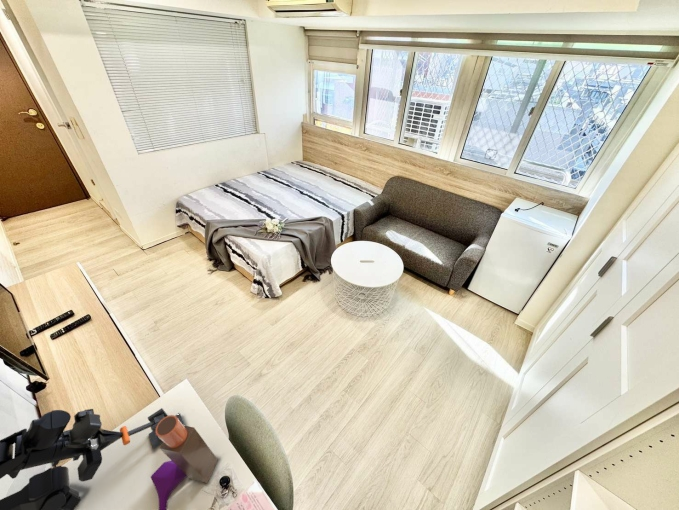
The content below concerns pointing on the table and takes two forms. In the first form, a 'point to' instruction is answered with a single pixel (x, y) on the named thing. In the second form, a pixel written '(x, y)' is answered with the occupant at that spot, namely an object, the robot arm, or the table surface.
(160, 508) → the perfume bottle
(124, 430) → the switch lever
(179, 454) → the cup stand
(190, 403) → the table surface
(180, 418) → the switch base
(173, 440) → the tea cup
